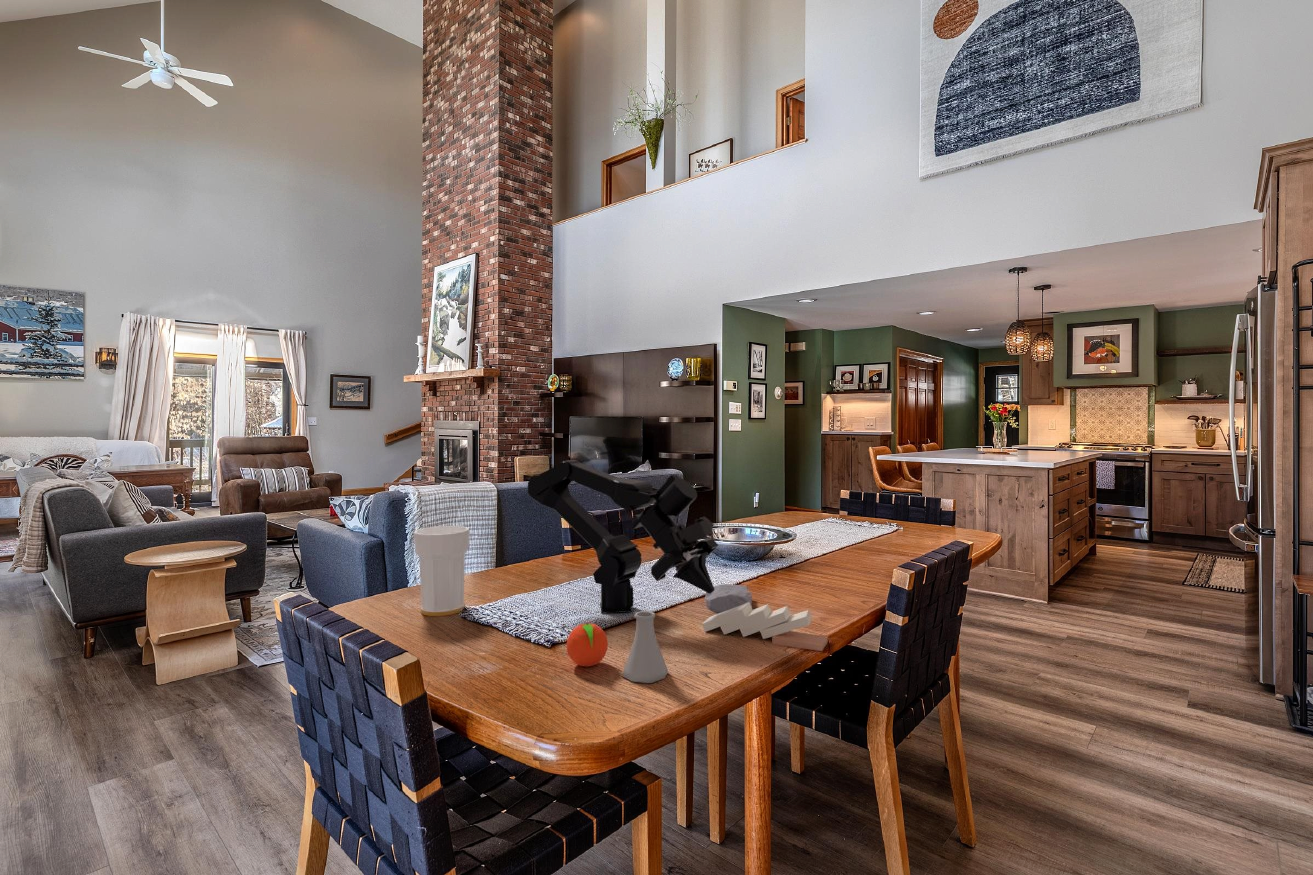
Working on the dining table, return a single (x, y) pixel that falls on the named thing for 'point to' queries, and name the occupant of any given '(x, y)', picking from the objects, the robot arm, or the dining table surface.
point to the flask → (645, 653)
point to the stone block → (727, 597)
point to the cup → (442, 568)
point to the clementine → (587, 644)
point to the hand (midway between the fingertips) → (712, 591)
